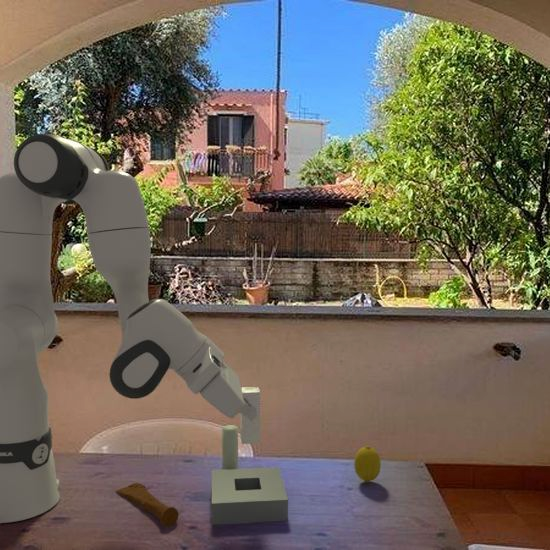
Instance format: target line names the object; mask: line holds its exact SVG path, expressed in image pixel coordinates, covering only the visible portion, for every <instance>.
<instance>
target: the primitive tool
mask: <svg viewBox="0 0 550 550" xmlns="http://www.w3.org/2000/svg"><path fill="white" fill-rule="evenodd" d="M116 492H117V493H116ZM115 493H116V494H117V495H119V494H120V495H119V496H121V495H122V496H124V497H125V498H124V497H123V498H124V499H126V498H127V499H126V500H128V499H129V500H128V501H130V502H132V503H133V504H135V505H137V506H138V507H140V508H141V509H143V510H144V511H146V512H148V513H150V514H152V515H153V516H155V517H156V518H158V519H159V520H160V523H161V525H162V527H164V528H167V527H171V526H173V525H175V524H176V523H177V521H178V519H179V516H180V514H179V511H178V509H177V508H175V507H174V506H168V505H166V504H165V503H162V501H160V500H159V499H158V498H156V497H155V496H154V495H153V494H151V493H150V492H149V491H148V490H147V488H146V485H143V484H142V483H141V482H140V483H139V482H134V483H132V484H129V485H128V486H125V487H121V488H119V489H116V490H115ZM122 496H121V497H122Z"/></svg>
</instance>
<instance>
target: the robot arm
mask: <svg viewBox="0 0 550 550" xmlns="http://www.w3.org/2000/svg"><path fill="white" fill-rule="evenodd" d="M13 168H14V172H10V173H6V174H4V175H2V176H0V524H3V523H4V524H8V523H13V522H15V523H16V522H19V521H25V520H27V519H31V518H34V517H37V516H39V515H42V514H44V513H46V512H47V511H49V510H51V509H52V508H53V507H54V506H56V505H57V504H58V502H59V500H60V496H61V494H60V492H59V488H60V479H58V478H57V474H56V473H57V472H56V466H55V465H56V464H55V459H54V453H53V452H54V451H53V450H52V448H53V433H52V428H51V427H50V419H49V418H50V417H49V415H50V414H49V413H50V412H49V410H50V409H49V391H48V388H47V386H46V385H45V384H44V382H43V380H42V375H41V372H40V367H39V361H38V360H39V354H40V353H42V352H43V351H45V350H46V349H48V348H49V346H50V345H51V344H52V342H53V340H54V339H55V337H56V335H57V333H58V328H59V320H58V316H57V315H56V312H55V305H54V304H55V303H54V299H53V298H54V297H53V290H52V282H51V263H52V262H51V261H52V244H53V243H52V241H53V240H52V239H53V220H54V215H55V211H56V209H57V208H58V206H59V205H61V204H63V205H67V206H68V205H72V204H76V203H77V204H78V205H79V207H80V208H81V210H82V211H83V215H84V220H85V226H86V232H87V233H86V234H87V240H88V241H87V242H88V247H89V252H90V256H91V258H92V261H93V263H94V265H95V266H94V267H95V269H96V271H97V272H98V274H99V275H100V276H101V277H102V278H103V279H104V280H105V281H106V282H107V284H108V285H109V287H110V288H111V290H112V292H113V294H114V297H115V301H116V305H117V312H118V318H119V323H120V329H121V343H120V346H119V348H118V350H117V351H116V353H115V356H114V357H113V359H112V362H111V364H110V369H109V381H110V383H111V386H112V387H113V389H114V390H115V391H116V392H117V393H118V394H119V395H121V396H122V397H124V398H128V399H134V400H135V399H138V400H139V399H144V397H147V396H149V395H151V394H152V393H153V392H154V391H155V390H156V389H157V388H158V387H159V386H160V384H161V382H162V379H163V378H164V377H165V375H166V373H167V372H168V371H169V370H172V371H174V372H175V374H177V376H179V377H180V378H181V379H182V380H183V381H184V382H185V384H186V386H187V388H188V389H189V391H190V392H192V393H193V394H195V395H198V394H199V395H201V397H202V398H203V399H204V400H205V401H206V402H207V403H209V404H210V405H211V406H213V407H214V409H216V410H218V411H219V413H221V414H223V415H224V416H226V417H227V418H229V419H234V418H235V417H236V416H237V415H238V414H240V415H241V414H242V415H244V416H246V417H247V418H248V419H249V420H250V421H253V420H254V419H255V418H256V417H257V413H256V411H255V410H254V409H253V408H252V407H250V406H249V405H248V404H247V403H246V402H245V401H244V398H243V393H242V388H243V387H242V384H241V380H240V377H239V375H238V374H237V373H236V372H235V371H234V370H233V369H232V368H231V367H230V366H228V364H226V363H225V362H224V361H223V359H224V357H225V353H224V351H222V350H221V349H220V348H219V347H218V346H217V345H216V344H215V343H214V342H213V341H212V340H211V339H210V338H209V337H208V336H207V335H205V334H203V333H201V332H200V331H198V330H197V328H195V326H194V324H193V322H192V321H191V320H190V319H189V318H188V317H187V316H186V315H185V314H183V313H182V311H180V310H179V309H178V308H176V307H175V306H174V305H173V304H171V303H170V302H168V301H167V300H165V299H162V298H154V299H150V297H149V276H150V268H151V265H150V264H151V251H152V250H151V234H150V233H151V232H150V228H149V227H150V226H149V221H148V220H149V219H148V214H147V209H146V206H145V202H144V199H143V195H142V192H141V189H140V186H139V183H138V182H137V180H136V179H135V177H134V176H133V175H131V174H129V173H127V172H125V171H121V170H110V167H109V164H108V162H107V161H106V159H105V157H104V156H103V155H102V154H101V153H100V152H99V151H97V150H96V149H94V148H93V147H90V146H88V145H86V144H84V143H82V142H80V141H79V140H75V139H72V138H66V137H62V136H60V135H57V134H54V133H52V134H51V133H38V134H33V135H31V136H29V137H27V138H25V139H24V140H23V141H22V142H20V144H19V145H18V146H17V148H16V150H15V152H14V158H13Z"/></svg>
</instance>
